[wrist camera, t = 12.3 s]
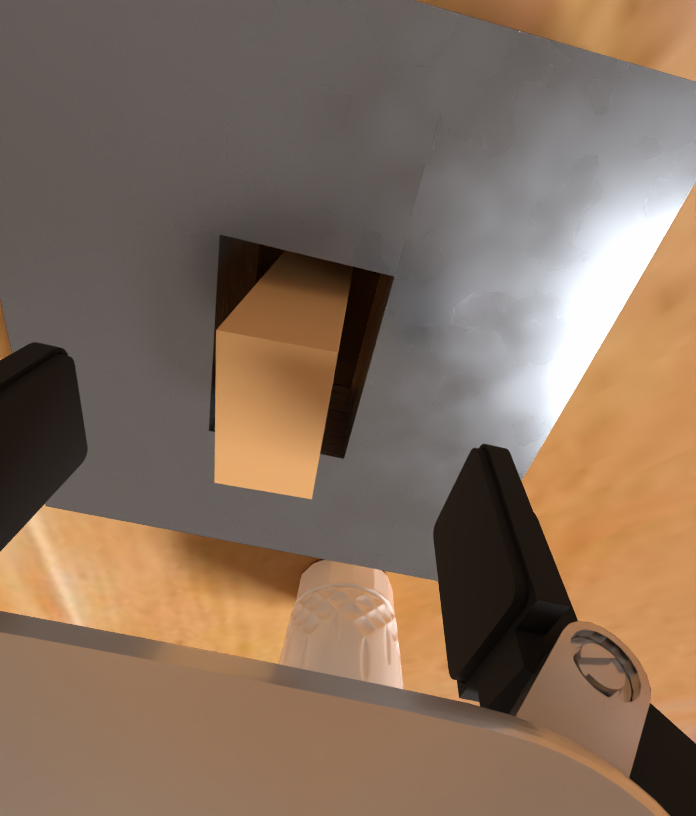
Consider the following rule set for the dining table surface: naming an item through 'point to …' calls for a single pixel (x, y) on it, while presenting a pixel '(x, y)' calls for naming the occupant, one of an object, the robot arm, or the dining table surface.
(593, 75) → the collar
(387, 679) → the white cup
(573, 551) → the dining table surface
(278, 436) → the tall tan wooden block
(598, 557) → the dining table surface
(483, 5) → the dining table surface
